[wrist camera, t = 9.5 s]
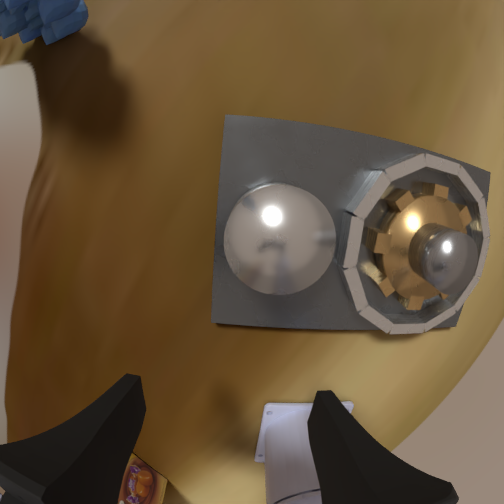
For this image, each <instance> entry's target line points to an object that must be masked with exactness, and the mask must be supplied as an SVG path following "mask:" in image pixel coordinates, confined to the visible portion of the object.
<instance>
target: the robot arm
mask: <svg viewBox="0 0 504 504" xmlns="http://www.w3.org/2000/svg"><path fill="white" fill-rule="evenodd" d="M353 407H354V405H353V402H351V401H344V402H340V400H339V399H338V398H337V397H336V395H335V394H334V393H333V392H332V391H331V390H327V391H317V393H316V396H315V400H314V403H267V404H266V405H265V406H264V410H263V416H262V421H261V427H260V432H259V437H258V442H257V447H256V453H255V458H254V459H255V461H256V462H264V465H265V485H266V503H267V504H456V503H457V502H458V500H459V497H458V495H457V493H456V491H455V489H454V487H453V486H452V484H451V483H450V482H447V481H444V480H442V479H439V478H436V477H433V476H431V475H428V474H426V473H424V472H422V471H420V470H418V469H416V468H414V467H413V466H411V465H409V464H408V463H406V462H404V461H403V460H401V459H400V458H398V457H397V456H395V455H394V454H392V453H391V452H390V451H388V450H387V449H386V448H385V447H383V446H382V445H381V444H380V443H379V442H377V441H376V440H375V439H374V438H373V437H372V436H371V435H370V434H369V433H368V432H367V431H366V430H365V429H364V428H363V427H362V426H361V425H360V424H359V423H358V422H357V420H356V419H355V418H354V417H353V416H352V415H351V412H352V409H353ZM268 411H271V412H268ZM145 412H146V405H145V400H144V395H143V389H142V383H141V378H140V376H137V375H132V374H125V375H124V376H123V377H122V378H121V379H120V380H118V381H117V382H116V383H115V384H114V385H113V386H112V387H111V388H110V389H108V390H107V391H106V392H105V393H104V394H103V395H101V396H100V397H99V398H98V399H97V400H95V401H94V402H93V403H92V404H90V405H89V406H88V407H86V408H85V409H84V410H82V411H81V412H79V413H78V414H77V415H75V416H74V417H72V418H70V419H69V420H67V421H65V422H64V423H62V424H60V425H58V426H56V427H54V428H52V429H50V430H48V431H46V432H43V433H41V434H39V435H36V436H33V437H31V438H27V439H24V440H21V441H17V442H13V443H8V444H3V445H0V486H1V487H2V488H3V489H4V490H5V493H4V495H2V494H1V493H0V504H118V499H119V494H120V489H121V485H122V480H123V476H124V473H125V470H126V467H127V464H128V462H129V459H130V456H131V454H132V451H133V449H134V446H135V444H136V441H137V439H138V436H139V434H140V431H141V428H142V424H143V421H144V416H145Z"/></svg>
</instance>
